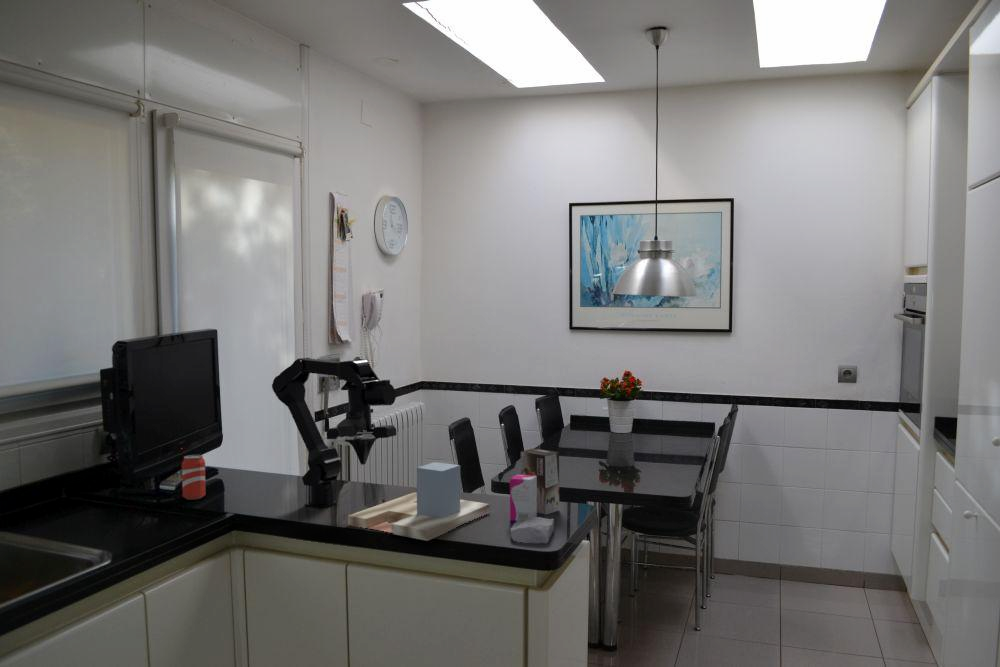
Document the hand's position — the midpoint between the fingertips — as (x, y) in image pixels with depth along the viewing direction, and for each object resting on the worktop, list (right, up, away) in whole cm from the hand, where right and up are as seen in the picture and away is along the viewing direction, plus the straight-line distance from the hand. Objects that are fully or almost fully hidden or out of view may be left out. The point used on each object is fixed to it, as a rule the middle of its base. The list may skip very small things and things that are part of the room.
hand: (363, 464), depth 215 cm
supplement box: (+43, -14, -7) cm, 46 cm away
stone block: (+44, -15, -20) cm, 51 cm away
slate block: (+21, -11, -9) cm, 25 cm away
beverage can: (-52, -13, +16) cm, 56 cm away
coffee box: (+48, -13, +3) cm, 50 cm away
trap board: (+16, -13, -6) cm, 22 cm away
